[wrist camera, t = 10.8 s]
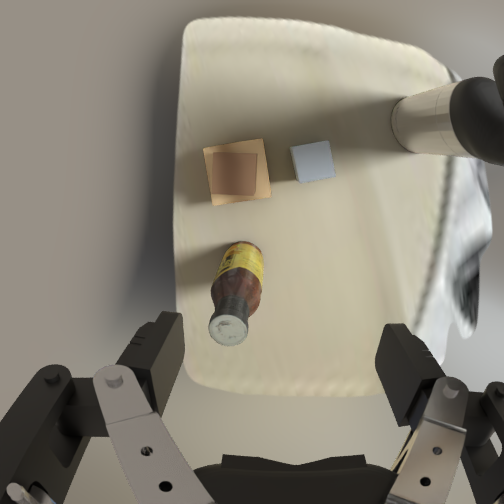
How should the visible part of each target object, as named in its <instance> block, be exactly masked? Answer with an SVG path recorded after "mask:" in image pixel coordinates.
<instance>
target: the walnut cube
mask: <svg viewBox="0 0 504 504" xmlns="http://www.w3.org/2000/svg"><path fill="white" fill-rule="evenodd" d="M256 173H257V154H254V153H230V152H213V167H212V194H222V195H243V196H254V194H255V191H256Z"/></svg>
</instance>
